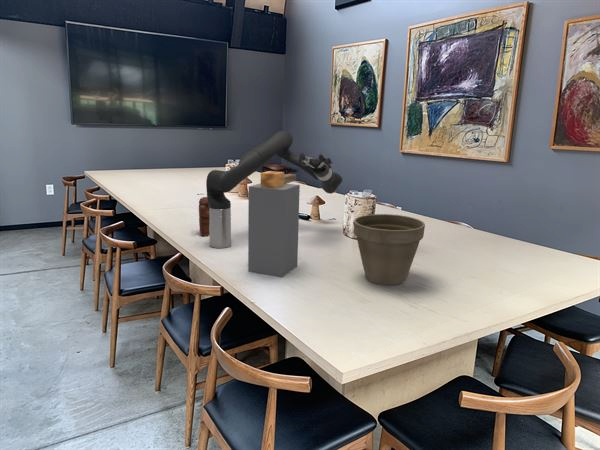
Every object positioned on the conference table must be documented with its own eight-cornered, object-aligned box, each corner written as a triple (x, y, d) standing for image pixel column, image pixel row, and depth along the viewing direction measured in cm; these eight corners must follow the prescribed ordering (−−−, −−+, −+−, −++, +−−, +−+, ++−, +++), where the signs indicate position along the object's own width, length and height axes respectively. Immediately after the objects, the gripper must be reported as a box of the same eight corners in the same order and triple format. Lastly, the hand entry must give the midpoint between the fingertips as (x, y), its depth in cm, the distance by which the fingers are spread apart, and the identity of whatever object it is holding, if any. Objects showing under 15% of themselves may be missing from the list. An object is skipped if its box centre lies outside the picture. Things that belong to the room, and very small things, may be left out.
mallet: (260, 186, 166) (260, 172, 165) (285, 179, 186) (286, 167, 185) (275, 188, 164) (275, 174, 163) (299, 181, 184) (300, 168, 182)
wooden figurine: (214, 236, 221) (213, 199, 217) (200, 237, 219) (199, 199, 215) (211, 230, 232) (211, 194, 228) (198, 231, 230) (197, 195, 226)
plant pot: (366, 293, 155) (370, 230, 150) (341, 269, 179) (343, 214, 174) (432, 288, 162) (439, 227, 157) (399, 266, 185) (404, 212, 180)
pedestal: (248, 271, 173) (248, 186, 166) (265, 261, 186) (266, 181, 179) (282, 277, 168) (284, 189, 161) (297, 266, 181) (299, 184, 174)
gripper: (309, 161, 216) (297, 146, 202) (338, 163, 211) (327, 148, 196) (305, 176, 215) (293, 162, 200) (334, 178, 209) (324, 164, 195)
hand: (310, 155), depth 198 cm, fingers open, 8 cm apart
